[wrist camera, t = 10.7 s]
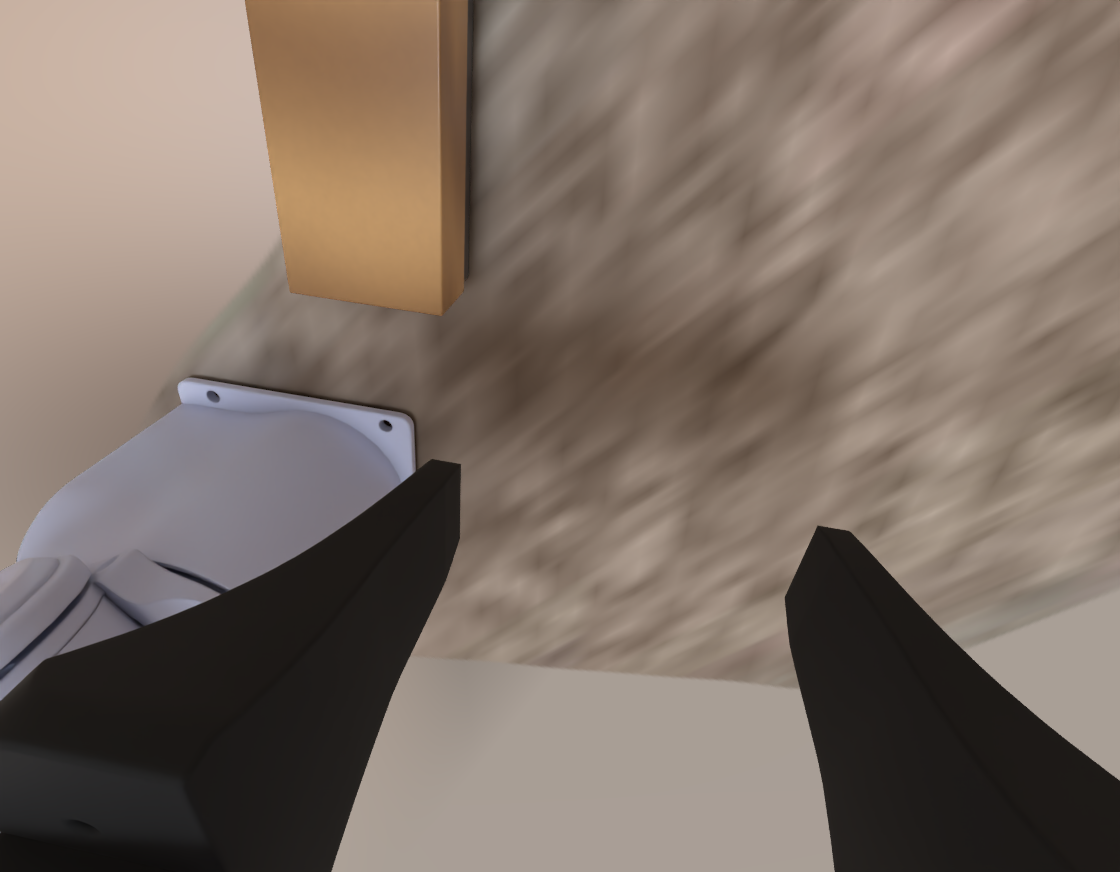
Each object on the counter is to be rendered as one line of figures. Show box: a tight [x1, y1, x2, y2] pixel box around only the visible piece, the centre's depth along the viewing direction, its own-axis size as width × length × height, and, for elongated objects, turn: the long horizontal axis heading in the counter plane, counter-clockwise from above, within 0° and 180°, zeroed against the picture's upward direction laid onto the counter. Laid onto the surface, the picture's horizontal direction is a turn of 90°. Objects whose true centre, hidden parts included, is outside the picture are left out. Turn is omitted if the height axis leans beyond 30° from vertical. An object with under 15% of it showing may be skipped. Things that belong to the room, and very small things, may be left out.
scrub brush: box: [245, 0, 473, 316], centre depth 15 cm, size 11×4×4 cm, turn 174°
